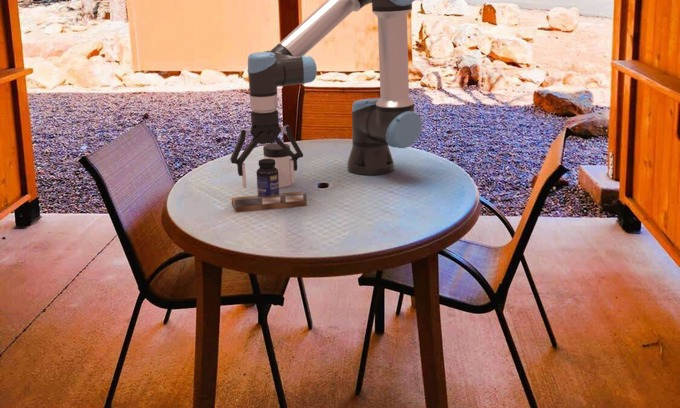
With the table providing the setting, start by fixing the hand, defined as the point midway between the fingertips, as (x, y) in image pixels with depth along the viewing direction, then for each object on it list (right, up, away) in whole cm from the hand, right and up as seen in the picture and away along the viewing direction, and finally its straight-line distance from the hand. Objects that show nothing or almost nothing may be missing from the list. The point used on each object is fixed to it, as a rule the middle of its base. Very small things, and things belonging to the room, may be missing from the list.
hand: (268, 184), depth 221 cm
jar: (+1, 0, +20) cm, 20 cm away
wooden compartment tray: (0, -6, +1) cm, 6 cm away
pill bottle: (0, -4, +1) cm, 4 cm away
